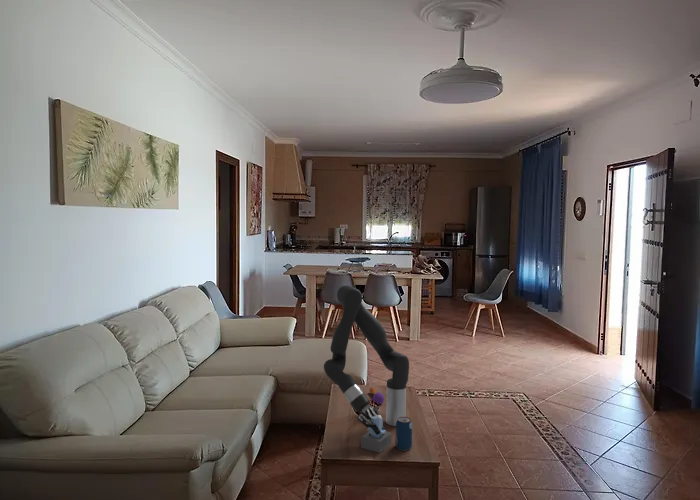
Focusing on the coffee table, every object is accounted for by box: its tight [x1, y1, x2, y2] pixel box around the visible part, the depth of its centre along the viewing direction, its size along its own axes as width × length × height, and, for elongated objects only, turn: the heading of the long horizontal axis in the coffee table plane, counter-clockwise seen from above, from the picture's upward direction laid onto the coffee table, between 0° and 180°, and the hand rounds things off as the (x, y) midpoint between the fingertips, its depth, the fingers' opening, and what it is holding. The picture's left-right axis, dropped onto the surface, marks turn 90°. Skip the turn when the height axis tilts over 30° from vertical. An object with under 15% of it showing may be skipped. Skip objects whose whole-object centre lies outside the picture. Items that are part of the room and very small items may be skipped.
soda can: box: [394, 416, 413, 451], centre depth 205 cm, size 7×7×12 cm
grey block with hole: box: [360, 430, 392, 454], centre depth 206 cm, size 10×9×5 cm
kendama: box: [369, 386, 385, 405], centre depth 263 cm, size 6×6×20 cm
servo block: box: [366, 414, 387, 438], centre depth 206 cm, size 8×3×12 cm, turn 59°
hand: (380, 431), depth 205 cm, fingers closed on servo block, 3 cm apart
